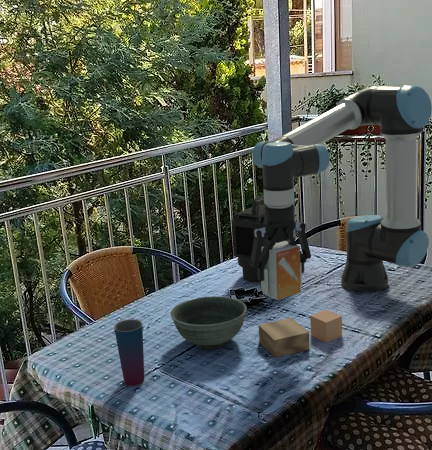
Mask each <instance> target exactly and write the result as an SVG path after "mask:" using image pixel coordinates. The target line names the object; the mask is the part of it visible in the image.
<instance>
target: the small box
mask: <svg viewBox="0 0 432 450" xmlns="http://www.w3.org/2000/svg"><path fill="white" fill-rule="evenodd" d="M262 250H263V247H261V252H262ZM300 251H301V246H300V245H298V244H297V245H296V246H292V245H290V244H289V243H288V242H287V241H283V242H279V243H276V244H275V245H274V246H273V248H272V250H269V258H268V261H267V263H266V266H265V268H266V269H267V271H268V293H267V294H265V293H264V292H263V291H262V294H263V295H265V296H267V297H269V298H271V299H274V300H276V301H279V300H282V299H284V298H288V297H291V296H294V295H297V294H301V288H302V287H301V286H300Z"/></svg>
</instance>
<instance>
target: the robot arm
mask: <svg viewBox="0 0 432 450" xmlns="http://www.w3.org/2000/svg"><path fill="white" fill-rule="evenodd" d="M431 117H432V101H431V98H430V96H429V94H428V92H426V90H425V89H424V88H423V87H421V86H418V85H411V84H392V85H390V84H389V85H387V84H386V85H379V84H377V85H372V86H368V87H365V88H362V89H361V90H358V91H355V92H353V93H352V94H350V95H347V96H346V97H344V98H342V99H341V100H339V101H338V102H337V103H336V106H334V107H333V108H330V109H329V110H327V111H326V112H324V113H323V112H322V114H320V115H318V116H316V117H314V118H312V119H310V120H309V121H307V122H305V123H303V124H301V125H300V126H297V127H296V128H293V129H292V130H290V131H289V132H287V133H285V134H283V135H281V136H279V137H278V138H275V139H274V140H271V141H269V140H265V141H263V140H262V141H259V142H258V143H256V144H255V146H254V147H253V149H252V153H251V154H252V155H251V157H252V161H253V163H254V165H255V166H257V167H258V168H261V169H262V182H263V195H264V202H263V205H266V206H265V207H264V215H265V225H264V228H261V229H256V228H255V229H254V230H253V232H254V243H253V248H252V254H251V260H250V265H251V266H252V267H254V268H255V269H256V268H257V272H258V279H259V280H260V281H261V283H260V284H261V285H260V287H261V291H262V293H263V292H264V293H265V294H267V293H268V271H267V269H266V268H265V266H266V263H267V261H268V258H269V250H272V248H273V246H274V245H275V244H276V242H279V241H281V240H287V242H288V243H289V244H290V245H292V246H296V245H298V243H297V242H296V238H295V237H294V234H293V235H292V232H293V233H294V231H295V230H296V232H297V238H298V241H299V246H300V286H301V288H302V287H303V277H302V275H303V274H304V273H305V263H307V260H308V259H310V260H311V258H312V254H311V249H310V245H309V243H308V242H309V241H308V238H307V233H306V228H307V225H306V223H304V222H302V221H299V220H298V221H297V222H296V221H295V205H294V203H295V188H294V186H295V185H294V183H295V181H294V179H297V178H301V177H307V176H311V175H312V176H313V175H317V174H319V173H323V172H324V171H326V170H327V169H328V167H329V166H330V162H331V161H330V160H331V159H330V153H329V150H328V148H327V147H325V145H323V144H324V143H326V142H328V141H330V140H332V139H333V138H335V137H337V136H338V135H340V134H341V133H342V134H343V132H345V131H347V130H355V129H357V128H359V127H363V126H379V127H380V135H381V136H382V137H383V138H384V139H385V217H383V215H380V214H367V215H366V214H365V215H359V216H354V217H352V218H350V219H348V220H347V222H346V230H345V236H346V238H345V240H346V241H345V242H346V262H345V265H344V268H343V272H342V274H341V277H340V278H341V280H340V283H341V286H342V287H343V288H344V289H347V290H349V291H353V292H357V293H375V292H380V291H382V290H385V289H386V288H387V287H388V286H389V278H388V277H389V276H388V274H387V271H386V267H385V264H384V262H385V263H386V262H387V263H390V264H393V265H395V266H396V265H397V266H399V267H405V268H413V267H416V266H417V265H419V264H420V263H421V262H422V261H423V259H424V257H425V256H426V254H427V251H428V249H429V243H430V238H429V235H428V233H426V232H425V231H424V230H421V229H422V228H421V221H420V219H419V218H417V216H416V211H417V210H416V209H417V208H416V205H417V203H416V201H417V200H416V198H417V197H416V194H417V190H416V189H417V182H416V181H417V139H418V137H419V136H420V135H421V134H422V133H423V128H424V127H426V125H428V123H429V122H430V118H431ZM265 232H266V234H267V237H266V240H265V241H266V242H265V245H264V247H263V250H262V252H261V246H262V237H264V233H265ZM271 239H272V240H271ZM260 252H261V255H260ZM265 294H264V295H265Z"/></svg>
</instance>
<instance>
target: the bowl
mask: <svg viewBox="0 0 432 450" xmlns="http://www.w3.org/2000/svg"><path fill="white" fill-rule="evenodd" d="M247 311H248V308H247V305H246V304H245V302H244V301H242V300H239V299H237V298H233V297H229V296H220V295H219V296H218V295H217V296H216V295H215V296H202V297H197V298H192V299H188V300H186V301H183V302H180V303H178V304H176V305H175V306H174V307H173V308H172V309H171V311H170V317H171V319H172V322H173V323H174V326H175V328H176V331H177V332H178V333H179V334H180V336H181V337H182V338H183V339H184V340H186V341H187V342H188V343H191V344H194V345H195V346H196V347H197V348H200V349H205V350H212V349H218V348H221V347H224V346H225V345H226V344H227V343H228V342H229V341H230V340H232V339H233V338H234V337H236V336H237V335H238V334H239V333H240V331H241V329H242V327H243V324H244V322H245V321H244V320H245V317H246V314H247Z"/></svg>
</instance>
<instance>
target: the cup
mask: <svg viewBox="0 0 432 450" xmlns="http://www.w3.org/2000/svg"><path fill="white" fill-rule="evenodd" d="M143 328H144V327H143V321H141V320H140V319H133V318H132V319H123V320H121V321H118V322H117V323H115V325H114V326H113V329H114V334H115V340H116V345H117V350H118V357H119V361H120V367H121V371H122V377H123V383H124V384H125V385H126V386H129V387H134V386H139V385H141V384H143V383H144V382H145V361H144V360H145V355H144V353H145V352H144V334H143V333H144V331H143Z"/></svg>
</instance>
